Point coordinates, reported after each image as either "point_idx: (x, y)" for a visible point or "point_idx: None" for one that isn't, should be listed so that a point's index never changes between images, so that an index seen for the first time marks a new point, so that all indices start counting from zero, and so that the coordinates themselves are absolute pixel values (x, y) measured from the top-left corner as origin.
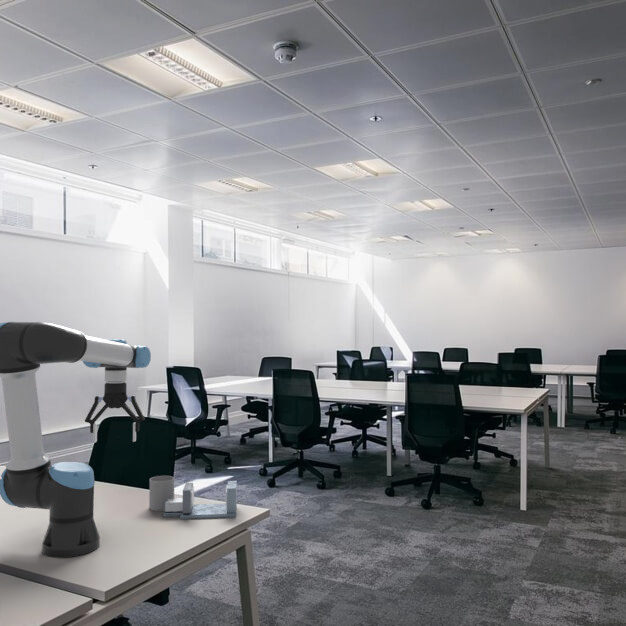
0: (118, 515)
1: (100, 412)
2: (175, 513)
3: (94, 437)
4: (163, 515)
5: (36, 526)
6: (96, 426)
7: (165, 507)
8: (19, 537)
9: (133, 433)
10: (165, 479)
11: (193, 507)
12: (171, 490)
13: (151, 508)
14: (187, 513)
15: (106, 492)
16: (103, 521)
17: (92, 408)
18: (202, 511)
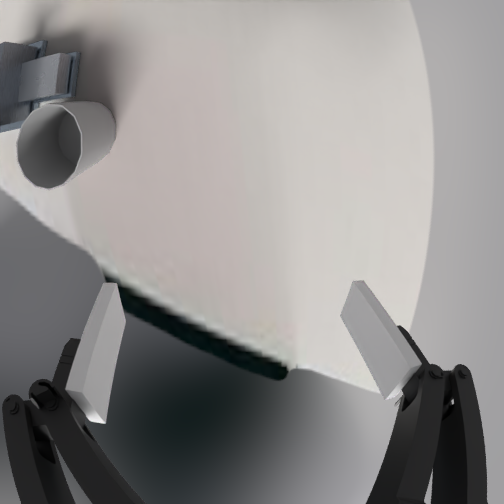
0: (195, 70)
1: (422, 459)
2: None
3: (371, 300)
4: (78, 52)
5: (381, 52)
6: (385, 372)
7: (65, 54)
8: (394, 4)
9: (97, 322)
10: (49, 183)
11: None
12: (38, 125)
13: (107, 110)
14: None
15: (250, 287)
16: (232, 29)
17: (478, 456)
18: None
